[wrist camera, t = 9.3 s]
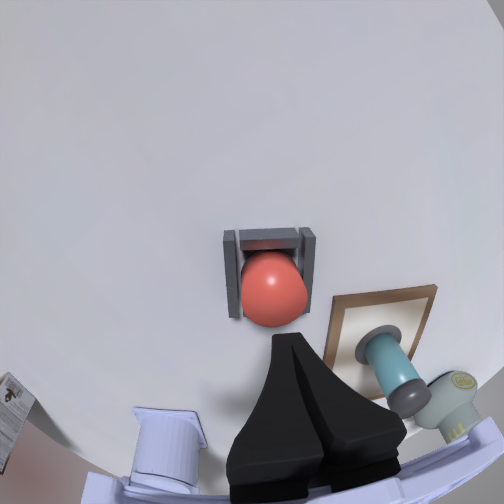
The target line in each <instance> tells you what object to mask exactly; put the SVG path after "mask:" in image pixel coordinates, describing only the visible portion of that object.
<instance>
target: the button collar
mask: <svg viewBox="0 0 504 504" xmlns="http://www.w3.org/2000/svg"><path fill="white" fill-rule="evenodd" d="M239 236H240V250H260V249H283V248H298V268H297V269H298V271H299V273H300V276H301V278H302V280H303V283H304V285H305V287H306V290H307V295H308V297H307V304H306V307H305V309H304V310H303V312H302V313H310V305H311V295H312V284H313V272H314V259H315V244H316V237H315V235H314V234H313V232H312V231H311V230H310V228H309V227H303V228H299V235H298V233H297V231H296V230H295V228H274V229H249V230H239ZM223 247H224V261H225V274H226V287H227V299H228V311H229V318H235V317H239V312H238V290H237V273H236V254H235V235H234V230H227V231H224V237H223ZM243 317H247V316H246V314H245V312H244V310H243Z"/></svg>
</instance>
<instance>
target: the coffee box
mask: <svg viewBox="0 0 504 504" xmlns="http://www.w3.org/2000/svg"><path fill="white" fill-rule="evenodd" d="M35 400H36V398H35V397H34V396H33V395H32V394H31V393H30V392H28V391H27V390H26V389H25V388H24V387H23V386H22V385H21V384H20V383H19V382H18V381H17V380H16V379H15V378H14V377H13V376H12V375H11V374H10V373H9V372H7V373H6V374H5V375H3V376H2V377H1V378H0V475H3V473H4V470H5V468H6V465H7V462H8V460H9V457H10V454H11V452H12V450H13V447H14V445H15V442H16V440H17V438H18V436H19V433H20V431H21V429H22V427H23V425H24V422H25V420H26V418H27V416H28V414H29V412H30V410H31V408H32V406H33V404H34V402H35Z"/></svg>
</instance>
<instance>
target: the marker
mask: <svg viewBox="0 0 504 504" xmlns="http://www.w3.org/2000/svg"><path fill="white" fill-rule="evenodd" d="M364 355H365V357H366V359H367V361H368V362H369V364H370V366H371V368H372V370H373V372H374V374H375V376H376V378H377V381H378V383H379V385H380V387H381V389H382V391H383V393H384V395H385V397H386V399H387V404H388V406H389V408H390V410H391V411H393V412H395V413H397V414H398V415H399V417H400V418H401V420H402V419H406V418H408V417H410V416H412V415H414V414H416V413H417V412H419V411H420V410H422V409H423V408H424V407H425V406H426V405H427V404H428V403H429V401H430V400H431V397H432V394H431V392H430V390H429V389H428V387H427V385H426V384H425V382H424V381H423V379H421V378H420V376H419V375H418V373H417V371H416V370H415V368H414V367H413V365H412V363H411V362H410V360H409V359H408V357H407V356H406V354H405V353H404V351H403V349H402V348H401V346H400V345H399V343H398V342H397V340H396V339H395V337H394V336H393V335H392V334H391V333H388V332H384V333H380V334H378V335H376V336H374V337H373V338H371V339H370V340H369V341H368V342H367V344H366V345H365V348H364Z"/></svg>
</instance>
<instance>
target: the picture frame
mask: <svg viewBox="0 0 504 504" xmlns="http://www.w3.org/2000/svg"><path fill="white" fill-rule="evenodd" d="M437 288H438V287H437V286H436V285H435V284H433V285H425V286H418V287H411V288H403V289H395V290H386V291H377V292H368V293H359V294H349V295H338V296H333V302H332V309H331V315H330V322H329V328H328V334H327V340H326V345H325V351H324V356H323V362H324V363H325V364H326V365H327V366H328V367H329V368H330V369H331V370H332V371H333V372H334V373H335V374H336V375H337V376H338V377H339V378H340V379H341V380H342V381H343V382H345V383H346V384H347V385H348V386H350V387H351V388H352V389H353V390H355V391H356V392H358V393H359V394H361V395H362V396H364V397H365V398H367V399H368V400H370V401H371V400H375V399H379V398H383V397H385V395H384V393H383V391H382V389H381V387H380V385H379V383H378V381H377V378H376V376H375V374H374V372H373V370H372V368H371V366H370V364H369V362H368V361H367V359H366V357H365V355H364V348H365V345H366V344H367V342H368V341H369V340H370V339H371V338H373V337H374V336H376V335H378V334H380V333H384V332H388V333H391V334H392V335H393V336H394V337H395V339H396V340H397V342H398V343H399V345H400V346H401V348H402V349H403V351H404V353H405V354H406V356H407V357H408V359H409V360H410V362H411V360H412V357H413V355H414V353H415V350H416V348H417V345H418V343H419V340H420V338H421V335H422V333H423V330H424V327H425V325H426V322H427V319H428V316H429V313H430V310H431V307H432V304H433V301H434V298H435V295H436V292H437Z"/></svg>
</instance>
